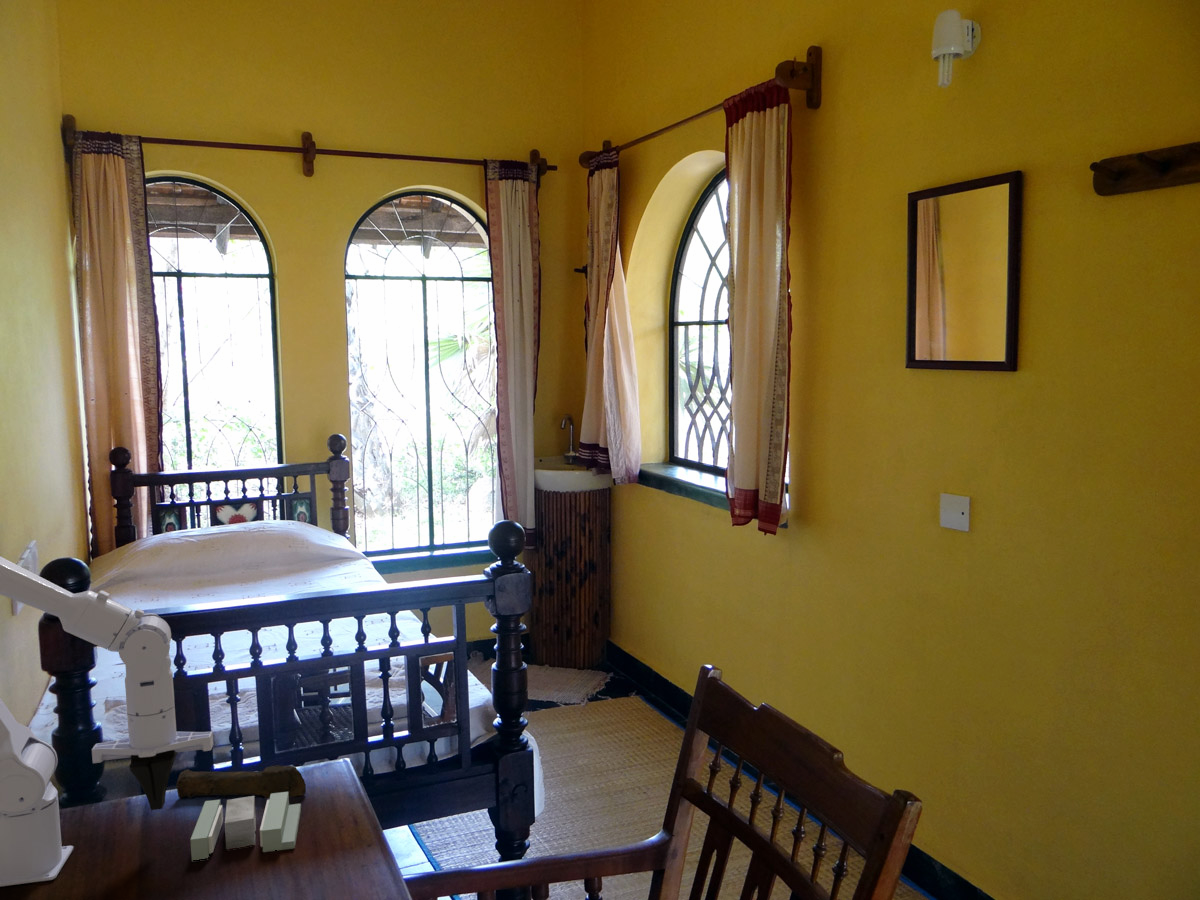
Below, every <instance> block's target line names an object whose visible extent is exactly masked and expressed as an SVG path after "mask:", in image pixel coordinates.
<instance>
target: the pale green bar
mask: <svg viewBox="0 0 1200 900" xmlns="http://www.w3.org/2000/svg"><path fill="white" fill-rule="evenodd" d="M289 799H290V797H289V795H288V792H281V793H272V794H271V795H270V799H266V804H265V808H264V812H263V816H262V820H261V824H260V827H259V842H260V843H259V844H260V847H261V848H262V852H263V853H267V852H276V851H275V850H277V851H285V850H291V849H295V848H296V843H297V838H298V837H297V835H298V829H299V824H300V819H301V818H300V817H301V813H302V812H301V811H302V809H301V808H302V805H301V803H294V804H290V801H289Z"/></svg>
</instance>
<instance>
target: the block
mask: <svg viewBox="0 0 1200 900" xmlns="http://www.w3.org/2000/svg"><path fill="white" fill-rule="evenodd" d="M255 797H256V796H255V795H248V796H243V797H238V798H232V799H227V800H226V805H225V806H226V808H225V818H224V833H225V835H224V836H225V850H226V849H230V848H236V847H237V848H239V847H245V846H249V845H255V846H256V834H255V831H256V830H257V827H256V825H257V819H256V817H257V816H256V800H255V799H256V798H255ZM245 848H246V847H245ZM239 849H240V848H239Z"/></svg>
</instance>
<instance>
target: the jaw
mask: <svg viewBox="0 0 1200 900" xmlns="http://www.w3.org/2000/svg"><path fill="white" fill-rule="evenodd" d="M223 808H224V807H223V804H221V799H214V800H205V801H204V803H203V806H202V809H201V811H200V814H199V817H198V818H197V821H196V825H195V827H194V829H193V831H192V835H191V837H190V851H191V853H190V854H191V862H194V861H193V860H199V859H205V858H208V857H209V858H210V856H209V854H210V855H211V854H212V853H213V852H214V849H215V847H216V844H217V842H218V838H219V835H220V831H221V828H222V825H223V823H224V810H223Z"/></svg>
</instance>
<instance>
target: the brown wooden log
mask: <svg viewBox="0 0 1200 900" xmlns="http://www.w3.org/2000/svg"><path fill="white" fill-rule="evenodd" d="M306 786H307V785H306V782H305V779H304V777H303V775H302V773H301V772H300V771H299V770H298V769H297V767H296V766H292V765H287V766H285V765H279V764H278V765H277V764H276V765H271V766H266V767H265V768H264V769H263V771H217V770H215V771H192V770H190V769H185V770H183V771H181V772H180V773H179V775H178V778H177V780H176V792H177V797H178V798H179V799H183V798H185V797H187V798H189V799H191V798H193V797H195V796H196V797H197V796H225V797H226V796H261V797H264V799H265V798H266V800H268V799H267V798H270V795H271V794H272V793H281V792H288V795H289V798H294V797H298V796H304V795H305V794H306V792H307V791H306V788H307V787H306Z"/></svg>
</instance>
